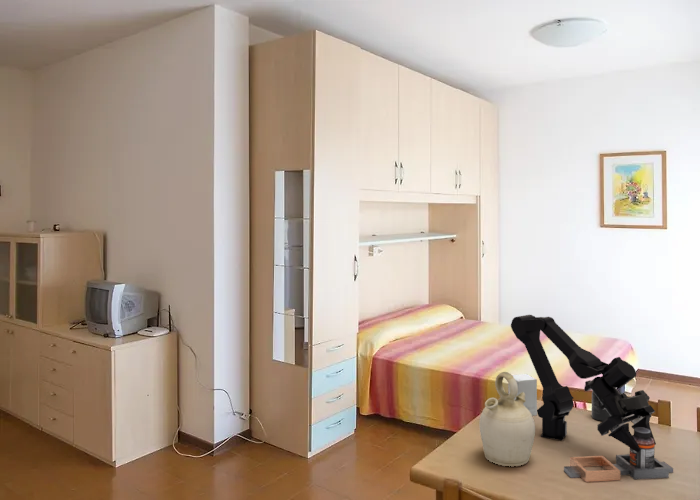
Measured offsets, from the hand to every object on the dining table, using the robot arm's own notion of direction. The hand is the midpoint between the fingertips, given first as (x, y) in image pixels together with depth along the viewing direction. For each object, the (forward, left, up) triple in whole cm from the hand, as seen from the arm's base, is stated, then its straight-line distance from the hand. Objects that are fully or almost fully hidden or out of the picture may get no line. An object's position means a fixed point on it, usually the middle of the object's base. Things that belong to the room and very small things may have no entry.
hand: (647, 448), depth 151 cm
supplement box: (-39, +31, -7) cm, 50 cm away
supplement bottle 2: (-1, +1, -7) cm, 7 cm away
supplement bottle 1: (-14, +37, -7) cm, 40 cm away
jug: (-35, -7, -7) cm, 37 cm away
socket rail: (-7, -3, -7) cm, 10 cm away
